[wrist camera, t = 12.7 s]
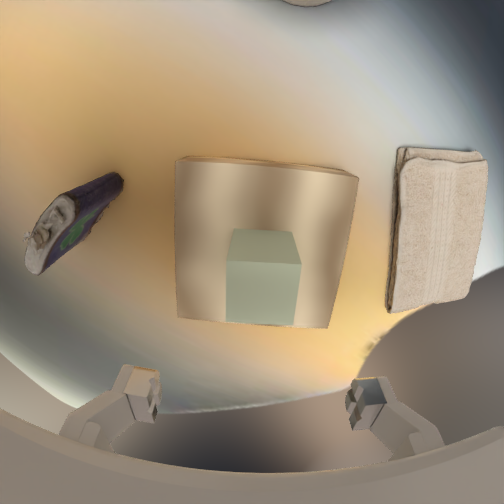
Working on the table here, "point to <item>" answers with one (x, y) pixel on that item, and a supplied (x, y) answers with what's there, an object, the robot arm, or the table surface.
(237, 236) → the sage block
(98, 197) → the dark blue flattened pouch
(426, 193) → the washcloth
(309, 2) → the coffee cup
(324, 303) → the birch block
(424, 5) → the table surface
